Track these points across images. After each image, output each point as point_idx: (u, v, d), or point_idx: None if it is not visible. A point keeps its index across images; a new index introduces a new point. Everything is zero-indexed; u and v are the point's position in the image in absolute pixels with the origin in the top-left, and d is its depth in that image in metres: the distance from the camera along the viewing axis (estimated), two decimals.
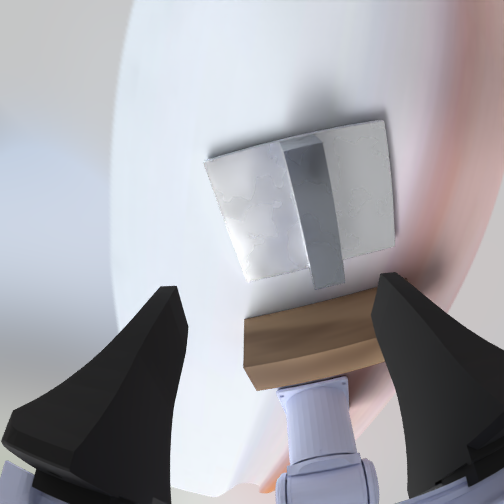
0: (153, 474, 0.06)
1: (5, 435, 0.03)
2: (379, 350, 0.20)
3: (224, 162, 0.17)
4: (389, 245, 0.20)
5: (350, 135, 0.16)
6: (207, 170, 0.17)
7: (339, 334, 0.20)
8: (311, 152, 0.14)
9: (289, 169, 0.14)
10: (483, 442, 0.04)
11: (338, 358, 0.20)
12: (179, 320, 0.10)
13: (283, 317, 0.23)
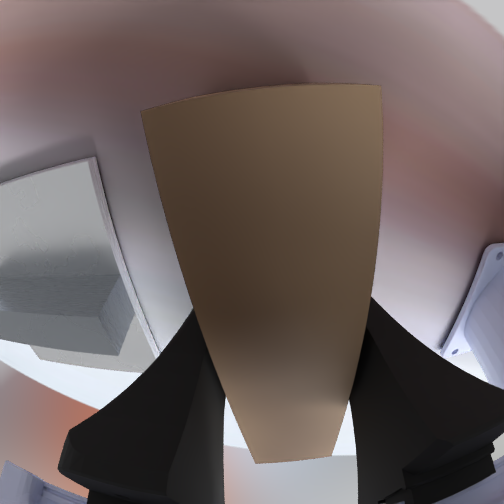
0: (215, 480, 0.06)
1: (65, 461, 0.03)
2: (282, 315, 0.06)
3: (34, 347, 0.14)
4: (85, 174, 0.09)
5: None
6: (44, 359, 0.14)
7: None
8: None
9: None
10: (419, 469, 0.04)
11: (273, 395, 0.07)
12: None
13: None
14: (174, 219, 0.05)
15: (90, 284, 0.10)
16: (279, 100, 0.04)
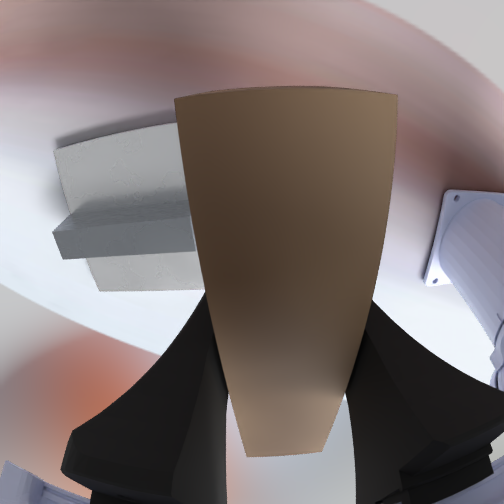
0: (218, 480, 0.06)
1: (69, 462, 0.03)
2: (290, 303, 0.06)
3: (97, 279, 0.20)
4: None
5: (67, 183, 0.16)
6: (104, 290, 0.20)
7: None
8: (60, 240, 0.15)
9: (73, 257, 0.16)
10: (416, 470, 0.04)
11: (273, 385, 0.08)
12: None
13: None
14: (196, 205, 0.05)
15: (175, 205, 0.16)
16: (306, 100, 0.04)
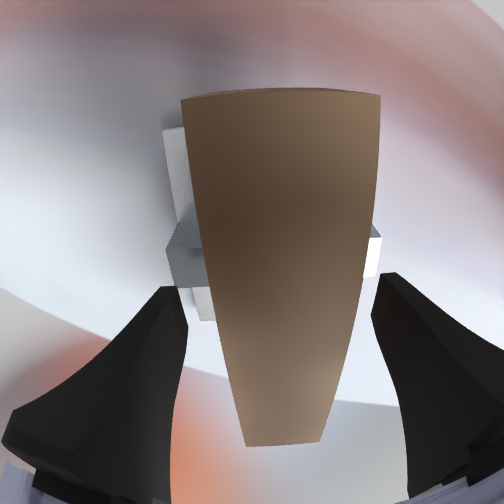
0: (153, 474, 0.06)
1: (5, 435, 0.03)
2: (286, 287, 0.07)
3: (201, 306, 0.17)
4: None
5: (180, 179, 0.13)
6: (208, 319, 0.17)
7: None
8: (177, 262, 0.12)
9: (196, 286, 0.13)
10: (483, 442, 0.04)
11: (270, 370, 0.08)
12: (179, 320, 0.10)
13: None
14: (199, 195, 0.05)
15: None
16: (297, 101, 0.05)
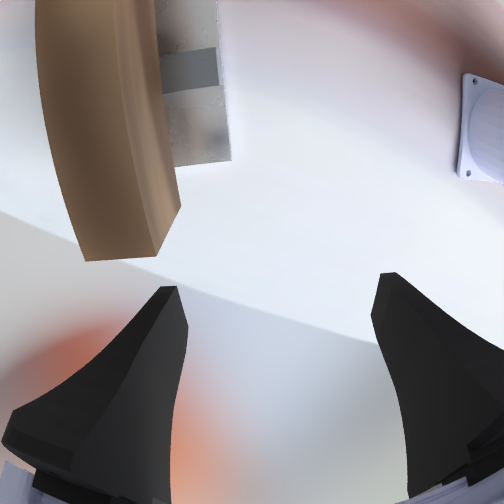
0: (153, 474, 0.06)
1: (5, 435, 0.03)
2: (69, 21, 0.06)
3: None
4: None
5: None
6: None
7: None
8: None
9: None
10: (483, 442, 0.04)
11: (67, 100, 0.08)
12: (179, 320, 0.10)
13: None
14: None
15: None
16: None
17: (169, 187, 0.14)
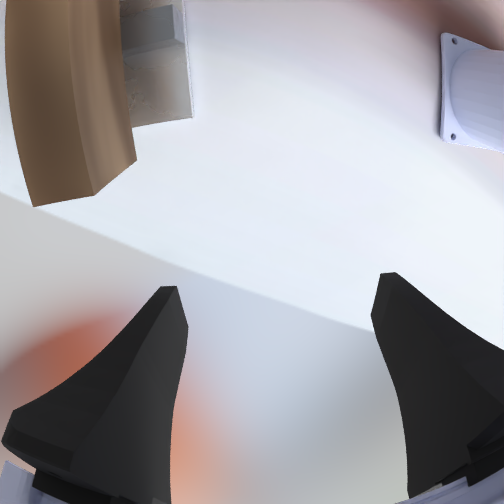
0: (153, 474, 0.06)
1: (5, 435, 0.03)
2: None
3: None
4: None
5: None
6: None
7: None
8: None
9: None
10: (483, 442, 0.04)
11: (25, 50, 0.07)
12: (179, 320, 0.10)
13: None
14: None
15: None
16: None
17: (121, 136, 0.12)
